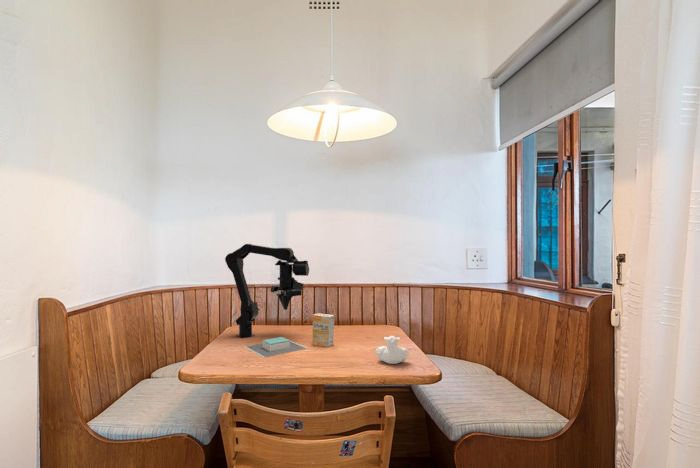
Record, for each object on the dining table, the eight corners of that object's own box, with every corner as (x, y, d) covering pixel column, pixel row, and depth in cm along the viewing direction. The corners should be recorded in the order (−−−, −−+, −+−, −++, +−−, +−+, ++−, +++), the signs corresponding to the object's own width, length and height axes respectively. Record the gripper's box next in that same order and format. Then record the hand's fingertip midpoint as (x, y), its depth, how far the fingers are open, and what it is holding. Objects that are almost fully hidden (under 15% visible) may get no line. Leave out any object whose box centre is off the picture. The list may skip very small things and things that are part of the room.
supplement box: (311, 345, 159) (312, 314, 159) (317, 342, 163) (317, 312, 163) (328, 348, 155) (329, 316, 155) (334, 345, 159) (334, 314, 160)
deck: (262, 340, 154) (270, 343, 148) (281, 336, 160) (290, 340, 154) (262, 347, 154) (269, 351, 148) (281, 343, 159) (289, 347, 154)
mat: (243, 347, 155) (243, 346, 155) (286, 340, 167) (286, 339, 167) (263, 358, 141) (263, 357, 141) (308, 349, 153) (308, 348, 153)
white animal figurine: (375, 368, 138) (374, 349, 131) (376, 350, 144) (375, 331, 137) (408, 369, 136) (409, 350, 129) (408, 352, 142) (408, 333, 135)
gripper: (312, 275, 168) (311, 310, 168) (291, 273, 183) (290, 305, 183) (290, 277, 162) (289, 313, 161) (270, 274, 176) (269, 307, 176)
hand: (285, 309), depth 170 cm, fingers closed
